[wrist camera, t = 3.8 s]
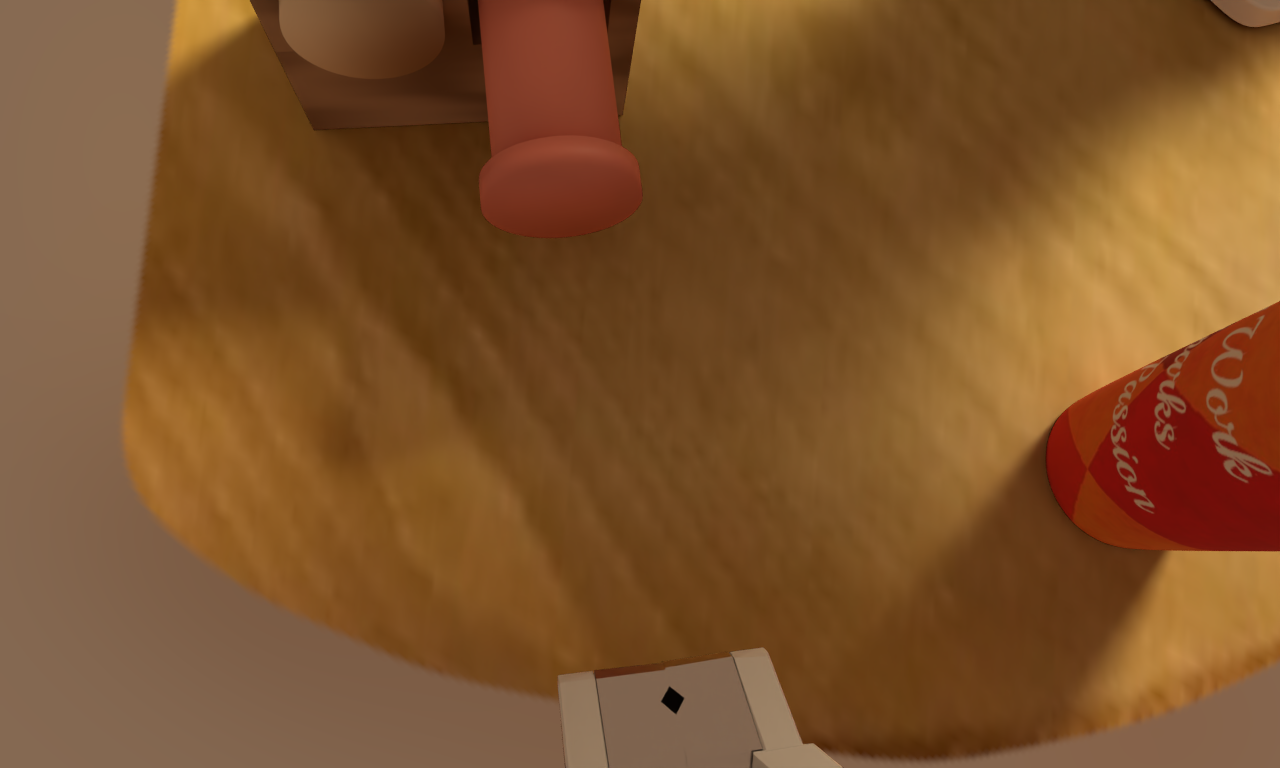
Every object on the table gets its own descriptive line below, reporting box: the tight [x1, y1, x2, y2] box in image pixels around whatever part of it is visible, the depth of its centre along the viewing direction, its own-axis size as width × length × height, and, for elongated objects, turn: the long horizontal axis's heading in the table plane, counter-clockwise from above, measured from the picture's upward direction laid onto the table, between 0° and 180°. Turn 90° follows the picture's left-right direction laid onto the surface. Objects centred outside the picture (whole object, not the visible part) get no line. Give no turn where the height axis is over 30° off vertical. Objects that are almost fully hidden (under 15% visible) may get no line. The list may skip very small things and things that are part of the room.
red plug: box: [478, 0, 643, 238], centre depth 24 cm, size 4×11×4 cm, turn 7°
